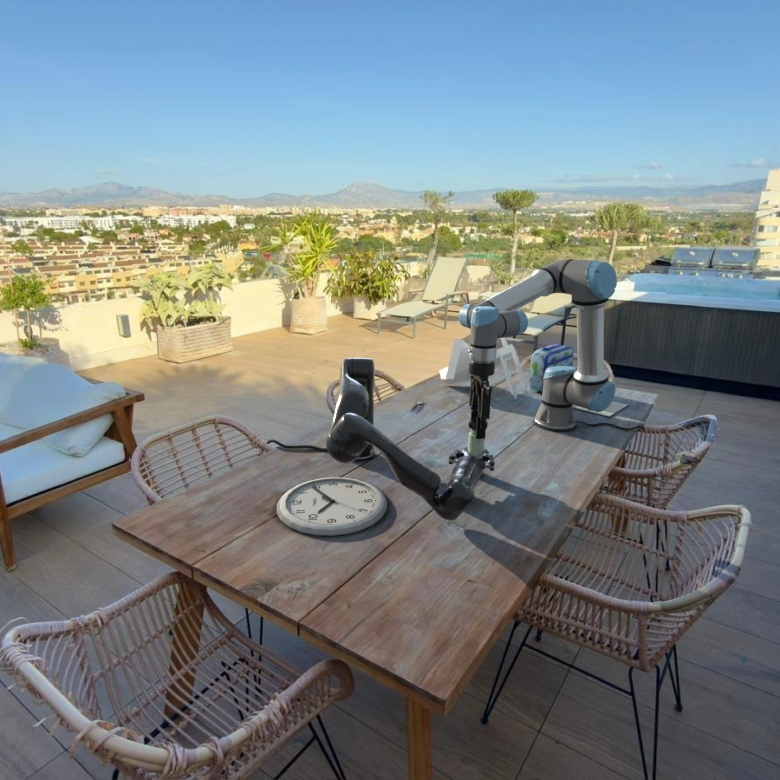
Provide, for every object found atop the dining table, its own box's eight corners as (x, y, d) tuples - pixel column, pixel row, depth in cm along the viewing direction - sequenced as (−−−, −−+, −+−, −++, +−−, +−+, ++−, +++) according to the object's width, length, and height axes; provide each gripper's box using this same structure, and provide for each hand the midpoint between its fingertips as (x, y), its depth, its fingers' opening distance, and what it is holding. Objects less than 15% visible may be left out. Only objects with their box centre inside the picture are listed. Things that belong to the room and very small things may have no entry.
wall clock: (392, 527, 129) (268, 531, 127) (391, 533, 130) (269, 537, 127) (383, 473, 158) (282, 475, 155) (383, 478, 158) (282, 480, 156)
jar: (483, 477, 160) (486, 431, 156) (467, 477, 160) (470, 430, 156) (480, 470, 165) (483, 425, 161) (465, 470, 165) (468, 425, 160)
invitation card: (608, 416, 214) (573, 407, 224) (608, 416, 214) (573, 408, 224) (628, 404, 229) (594, 396, 238) (628, 405, 229) (594, 397, 238)
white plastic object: (461, 429, 252) (437, 405, 227) (444, 352, 274) (420, 323, 250) (535, 404, 240) (518, 377, 215) (510, 326, 262) (492, 293, 237)
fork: (408, 411, 216) (408, 407, 215) (419, 400, 230) (419, 396, 229) (414, 412, 215) (414, 407, 214) (425, 401, 229) (425, 396, 229)
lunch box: (545, 397, 238) (550, 352, 231) (524, 391, 245) (529, 348, 239) (572, 386, 255) (578, 344, 249) (552, 381, 262) (557, 340, 256)
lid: (486, 431, 155) (487, 424, 154) (467, 429, 156) (468, 423, 156) (487, 424, 160) (488, 418, 160) (469, 423, 161) (469, 416, 161)
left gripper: (441, 481, 151) (453, 458, 166) (491, 489, 147) (499, 465, 162) (442, 457, 149) (455, 436, 164) (493, 465, 144) (501, 442, 160)
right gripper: (461, 353, 160) (457, 423, 167) (478, 369, 143) (474, 447, 150) (484, 352, 161) (480, 422, 168) (505, 368, 144) (499, 446, 151)
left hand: (476, 450), depth 163 cm, fingers closed on jar, 5 cm apart
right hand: (477, 434), depth 159 cm, fingers closed on lid, 5 cm apart
